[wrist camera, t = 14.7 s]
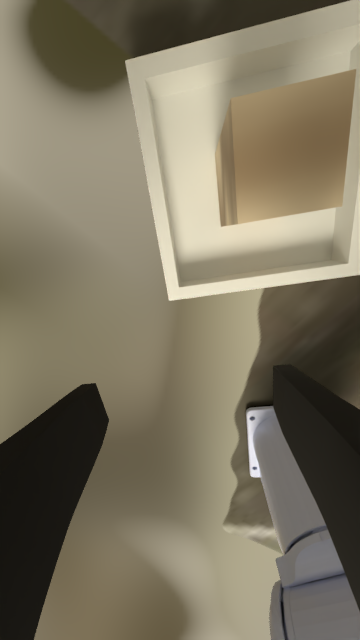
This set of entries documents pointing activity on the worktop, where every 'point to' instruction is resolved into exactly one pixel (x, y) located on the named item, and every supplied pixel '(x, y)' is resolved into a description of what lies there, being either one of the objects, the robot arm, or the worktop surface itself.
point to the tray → (201, 143)
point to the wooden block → (285, 150)
